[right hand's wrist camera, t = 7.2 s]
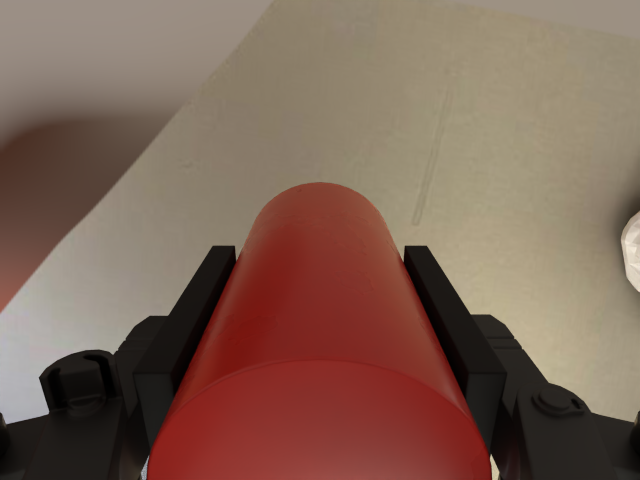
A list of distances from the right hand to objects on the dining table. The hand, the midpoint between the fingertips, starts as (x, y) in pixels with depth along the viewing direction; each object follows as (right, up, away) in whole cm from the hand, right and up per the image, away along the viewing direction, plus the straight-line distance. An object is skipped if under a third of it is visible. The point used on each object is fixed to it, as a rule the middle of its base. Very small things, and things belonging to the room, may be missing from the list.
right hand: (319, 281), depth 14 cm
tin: (0, +1, +2) cm, 3 cm away
